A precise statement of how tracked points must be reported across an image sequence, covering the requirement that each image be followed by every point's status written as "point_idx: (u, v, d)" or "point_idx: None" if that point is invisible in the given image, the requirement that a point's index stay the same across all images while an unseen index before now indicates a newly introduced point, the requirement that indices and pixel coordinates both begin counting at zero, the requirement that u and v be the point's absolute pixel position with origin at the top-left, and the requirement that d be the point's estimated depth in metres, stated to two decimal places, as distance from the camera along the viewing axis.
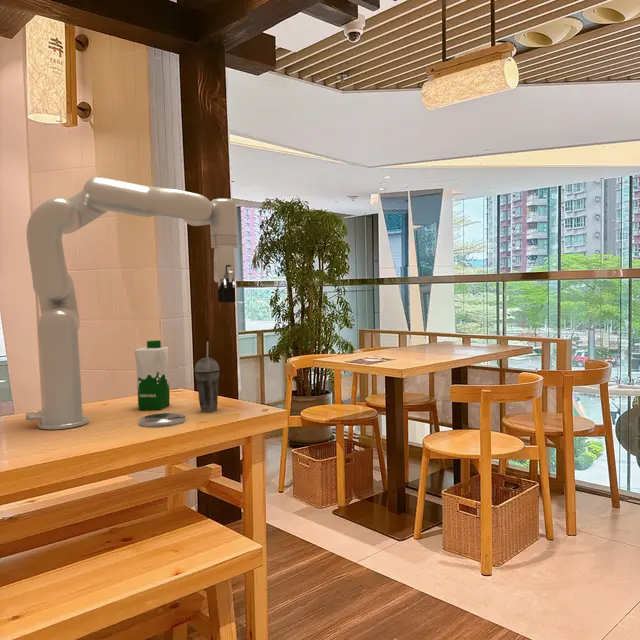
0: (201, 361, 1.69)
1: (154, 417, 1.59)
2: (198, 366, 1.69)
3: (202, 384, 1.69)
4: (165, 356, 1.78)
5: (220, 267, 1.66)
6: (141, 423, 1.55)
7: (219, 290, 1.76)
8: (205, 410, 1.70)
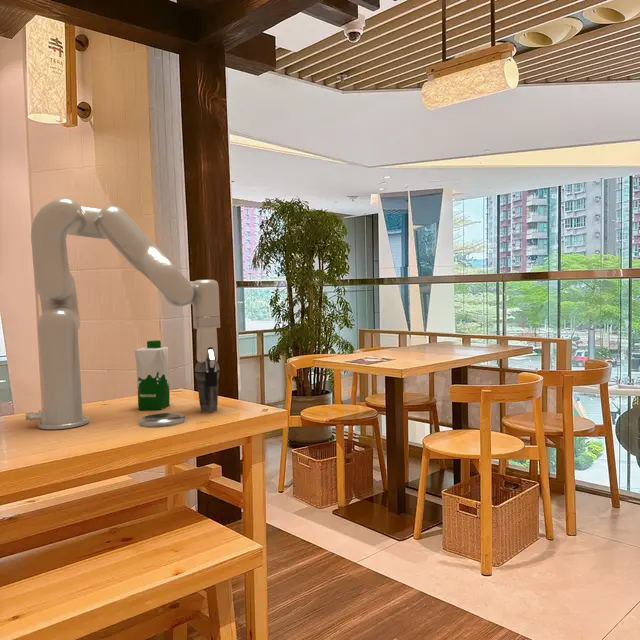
0: None
1: (154, 417, 1.59)
2: (198, 366, 1.69)
3: (202, 384, 1.69)
4: (165, 356, 1.78)
5: (202, 350, 1.66)
6: (141, 423, 1.55)
7: None
8: (205, 410, 1.70)
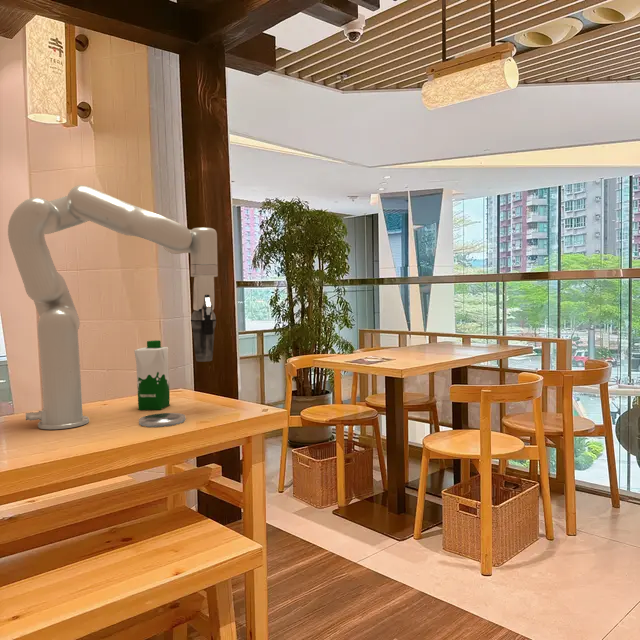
0: None
1: (154, 417, 1.59)
2: (194, 314, 1.68)
3: (198, 332, 1.68)
4: (165, 356, 1.78)
5: (199, 297, 1.65)
6: (141, 423, 1.55)
7: None
8: (200, 359, 1.69)
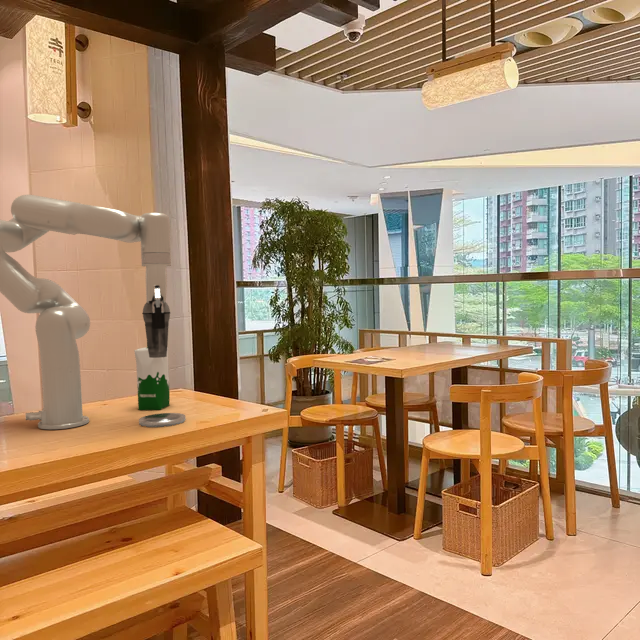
0: (149, 301, 1.56)
1: (154, 417, 1.59)
2: (145, 307, 1.55)
3: (149, 326, 1.55)
4: None
5: (148, 288, 1.52)
6: (141, 423, 1.55)
7: None
8: (153, 355, 1.56)
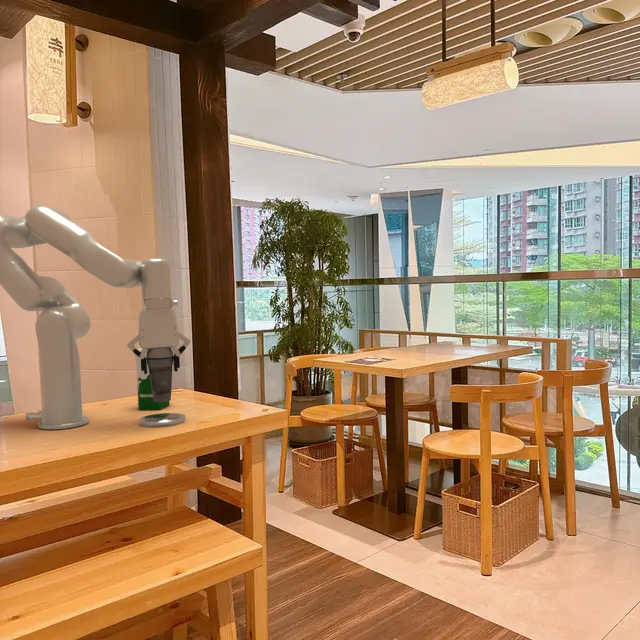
0: None
1: (154, 417, 1.59)
2: None
3: None
4: None
5: None
6: (141, 423, 1.55)
7: None
8: None
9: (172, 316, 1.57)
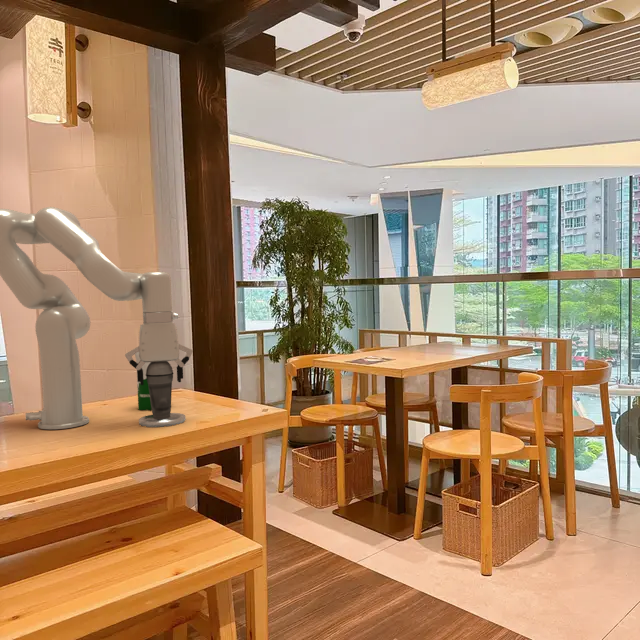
0: None
1: None
2: None
3: None
4: None
5: None
6: (141, 423, 1.55)
7: None
8: None
9: (172, 329, 1.57)
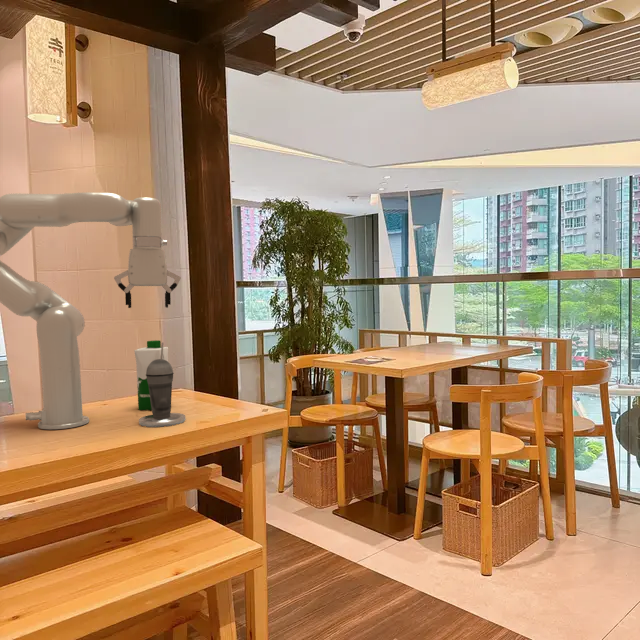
0: None
1: None
2: None
3: None
4: (165, 356, 1.78)
5: None
6: (141, 423, 1.55)
7: None
8: None
9: (161, 255, 1.60)
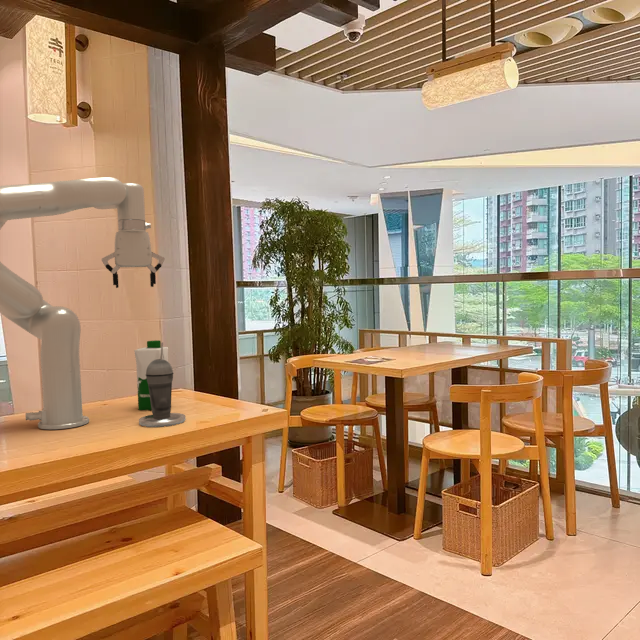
0: None
1: None
2: None
3: None
4: (165, 356, 1.78)
5: None
6: (141, 423, 1.55)
7: None
8: None
9: (145, 237, 1.70)
